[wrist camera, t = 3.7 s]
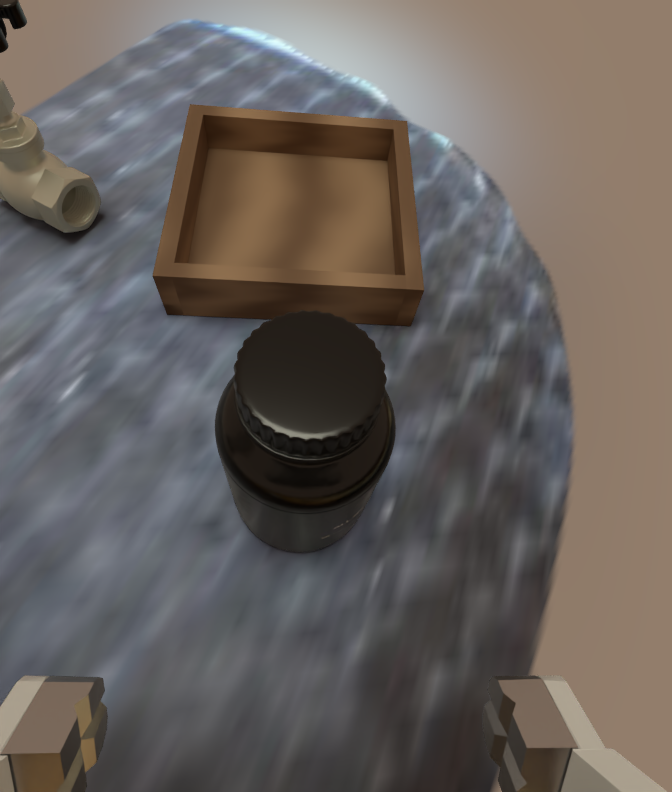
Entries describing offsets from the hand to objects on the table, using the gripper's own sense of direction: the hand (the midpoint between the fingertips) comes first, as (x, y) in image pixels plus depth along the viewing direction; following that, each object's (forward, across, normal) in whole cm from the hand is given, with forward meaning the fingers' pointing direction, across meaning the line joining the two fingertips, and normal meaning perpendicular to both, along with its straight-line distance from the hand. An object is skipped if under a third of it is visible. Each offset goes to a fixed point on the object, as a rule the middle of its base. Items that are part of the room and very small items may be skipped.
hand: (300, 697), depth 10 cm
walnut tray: (+28, +1, -10) cm, 29 cm away
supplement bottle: (+15, 0, +3) cm, 16 cm away
